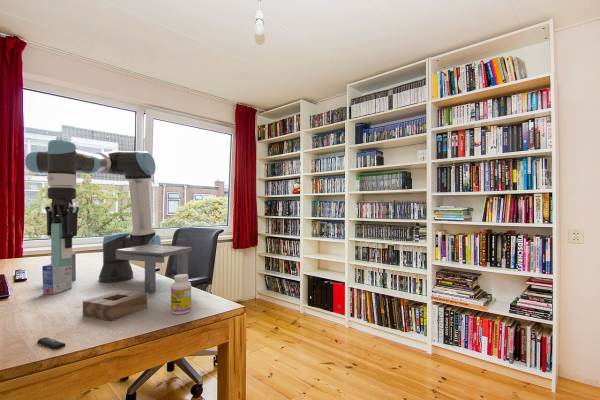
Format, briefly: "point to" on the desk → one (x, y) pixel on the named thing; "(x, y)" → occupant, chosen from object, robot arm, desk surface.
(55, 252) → the peg
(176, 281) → the supplement bottle
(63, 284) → the ink cartridge box
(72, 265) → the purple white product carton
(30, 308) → the desk surface
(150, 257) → the grey step stool
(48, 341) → the usb stick
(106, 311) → the socket block
